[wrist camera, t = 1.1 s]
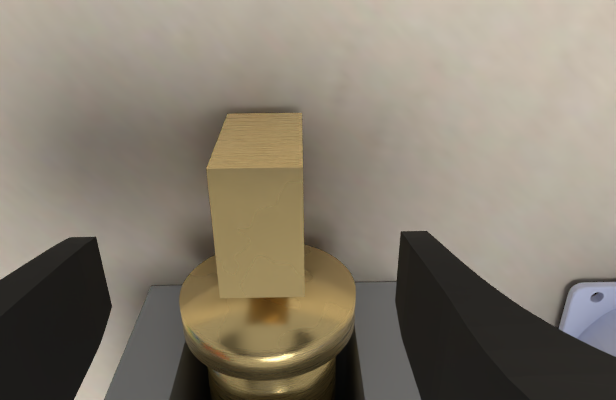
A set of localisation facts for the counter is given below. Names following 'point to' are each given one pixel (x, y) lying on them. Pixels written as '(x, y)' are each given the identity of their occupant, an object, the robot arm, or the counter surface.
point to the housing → (193, 373)
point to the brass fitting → (265, 273)
